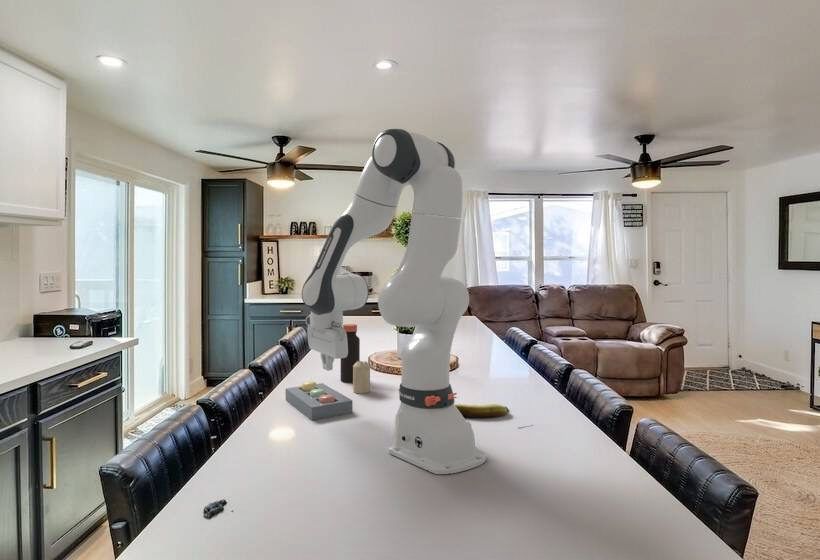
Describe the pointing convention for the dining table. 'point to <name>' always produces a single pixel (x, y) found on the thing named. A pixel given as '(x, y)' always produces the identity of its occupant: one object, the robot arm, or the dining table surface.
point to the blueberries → (214, 508)
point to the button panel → (313, 406)
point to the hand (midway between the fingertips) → (327, 369)
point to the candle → (361, 377)
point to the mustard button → (308, 386)
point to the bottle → (350, 353)
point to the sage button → (317, 392)
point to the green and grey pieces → (482, 411)
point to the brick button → (326, 399)
